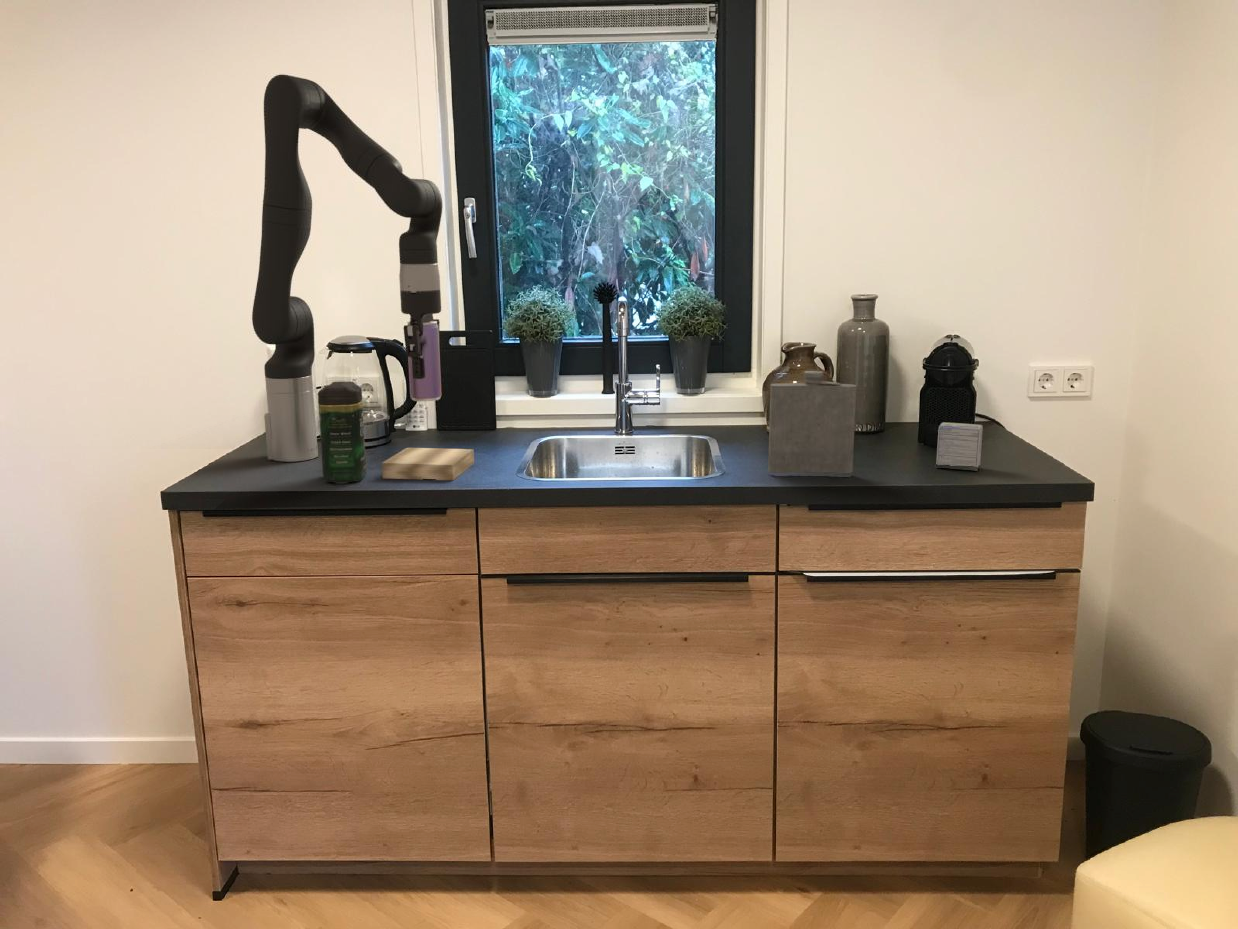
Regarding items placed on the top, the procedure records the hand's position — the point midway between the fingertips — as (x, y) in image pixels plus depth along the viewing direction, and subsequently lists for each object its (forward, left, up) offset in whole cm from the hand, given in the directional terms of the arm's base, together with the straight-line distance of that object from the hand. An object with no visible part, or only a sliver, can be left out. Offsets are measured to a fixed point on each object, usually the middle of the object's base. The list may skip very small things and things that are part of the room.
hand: (424, 375), depth 196 cm
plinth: (0, 0, -19) cm, 19 cm away
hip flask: (+74, +6, -19) cm, 77 cm away
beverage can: (0, 0, -5) cm, 5 cm away
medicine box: (+103, +15, -19) cm, 106 cm away
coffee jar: (-14, -8, -19) cm, 25 cm away
